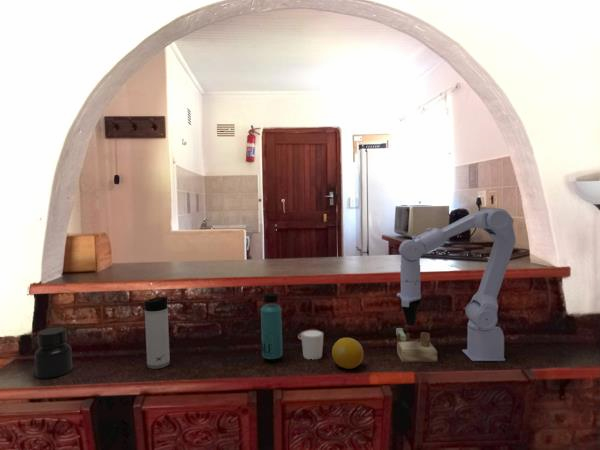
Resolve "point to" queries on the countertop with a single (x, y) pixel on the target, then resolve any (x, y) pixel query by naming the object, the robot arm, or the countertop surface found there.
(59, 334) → the ink bottle
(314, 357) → the white mug
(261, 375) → the countertop surface
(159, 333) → the travel mug
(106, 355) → the countertop surface
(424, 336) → the lid
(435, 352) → the toolbox
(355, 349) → the fruit
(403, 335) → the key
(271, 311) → the beverage bottle
